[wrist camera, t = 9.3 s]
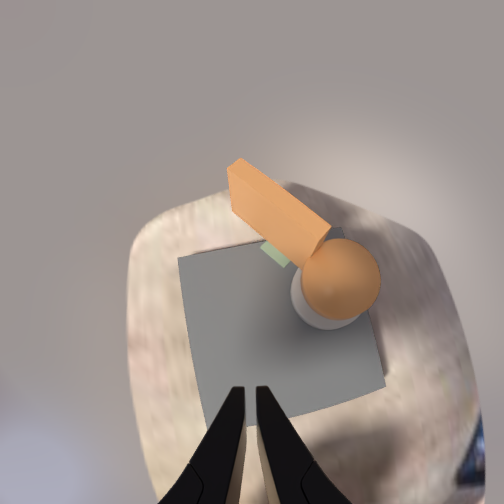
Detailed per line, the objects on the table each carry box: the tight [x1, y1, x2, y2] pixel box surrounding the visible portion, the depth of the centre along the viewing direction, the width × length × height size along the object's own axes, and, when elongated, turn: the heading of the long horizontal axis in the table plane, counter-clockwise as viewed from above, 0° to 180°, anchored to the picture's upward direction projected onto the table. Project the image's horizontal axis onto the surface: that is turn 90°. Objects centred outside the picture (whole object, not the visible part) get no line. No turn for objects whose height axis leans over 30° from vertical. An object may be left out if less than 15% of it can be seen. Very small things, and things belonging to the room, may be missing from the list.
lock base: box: [178, 227, 386, 430], centre depth 20 cm, size 14×14×4 cm
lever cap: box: [227, 158, 381, 321], centre depth 18 cm, size 12×5×5 cm, turn 47°
